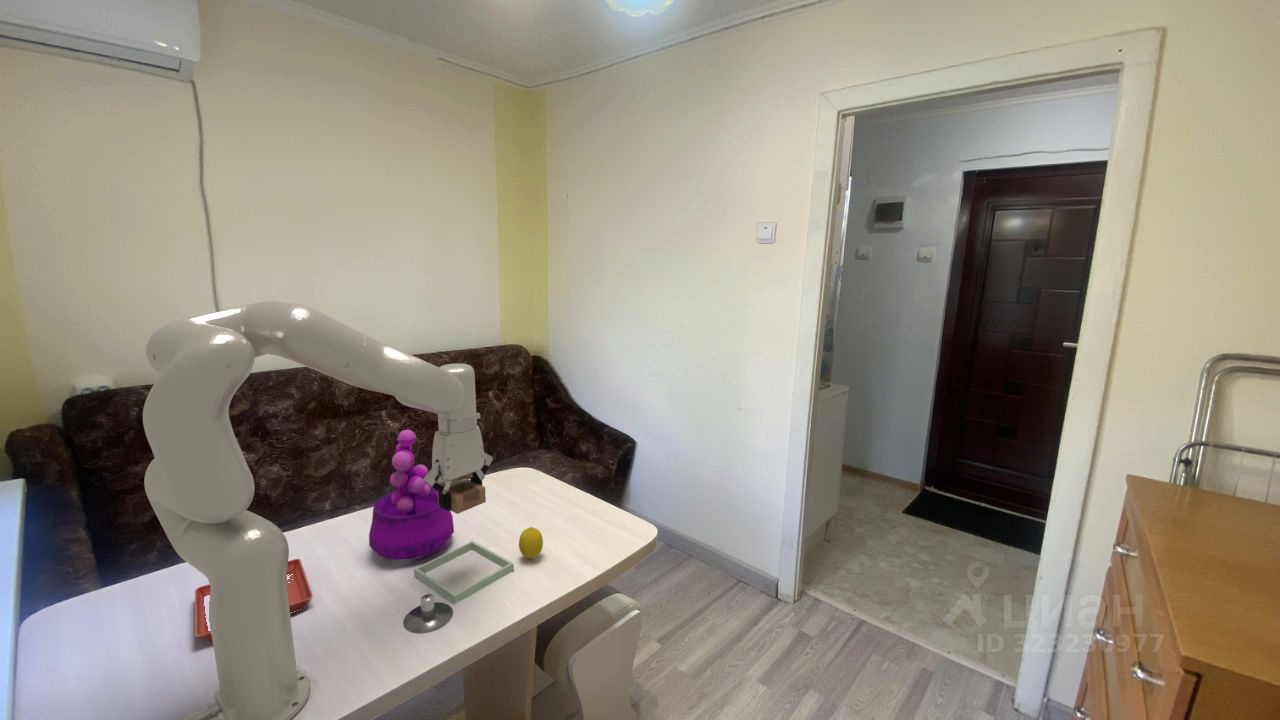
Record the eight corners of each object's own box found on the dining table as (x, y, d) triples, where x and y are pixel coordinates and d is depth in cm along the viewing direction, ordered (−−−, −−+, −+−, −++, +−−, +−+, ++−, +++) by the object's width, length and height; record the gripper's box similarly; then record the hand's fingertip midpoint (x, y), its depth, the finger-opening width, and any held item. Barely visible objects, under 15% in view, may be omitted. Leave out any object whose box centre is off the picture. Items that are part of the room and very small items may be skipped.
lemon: (537, 566, 121) (537, 534, 119) (515, 563, 122) (514, 531, 120) (546, 553, 126) (546, 523, 125) (525, 550, 127) (524, 520, 126)
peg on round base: (420, 644, 96) (418, 620, 95) (394, 623, 101) (392, 600, 100) (462, 618, 103) (461, 595, 102) (436, 599, 108) (435, 578, 108)
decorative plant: (456, 562, 122) (450, 439, 116) (366, 578, 115) (355, 448, 109) (452, 524, 139) (447, 415, 133) (374, 536, 132) (365, 421, 126)
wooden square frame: (438, 504, 112) (437, 488, 112) (466, 492, 118) (465, 478, 117) (457, 514, 108) (456, 498, 108) (485, 502, 114) (485, 486, 113)
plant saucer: (196, 601, 107) (194, 587, 106) (301, 570, 118) (299, 556, 117) (197, 653, 93) (194, 637, 93) (315, 612, 105) (313, 597, 104)
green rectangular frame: (455, 607, 106) (454, 596, 106) (414, 579, 115) (413, 568, 115) (513, 573, 118) (513, 563, 118) (472, 550, 127) (472, 540, 126)
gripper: (481, 410, 119) (484, 484, 122) (408, 429, 105) (414, 511, 109) (503, 417, 114) (505, 493, 118) (429, 438, 101) (434, 523, 104)
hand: (461, 501), depth 113 cm, fingers closed on wooden square frame, 7 cm apart
